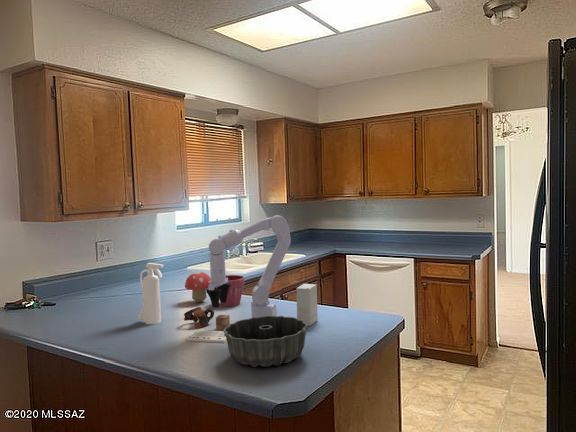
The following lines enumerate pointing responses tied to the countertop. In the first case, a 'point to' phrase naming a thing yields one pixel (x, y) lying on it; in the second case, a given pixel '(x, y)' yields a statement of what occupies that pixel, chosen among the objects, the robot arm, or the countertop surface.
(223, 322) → the walnut block
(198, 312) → the pottery mug
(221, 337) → the board
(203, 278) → the decorative mushroom
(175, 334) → the countertop surface
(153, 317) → the fire extinguisher
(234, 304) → the plant pot
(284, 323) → the bundt pan
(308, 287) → the skincare box
